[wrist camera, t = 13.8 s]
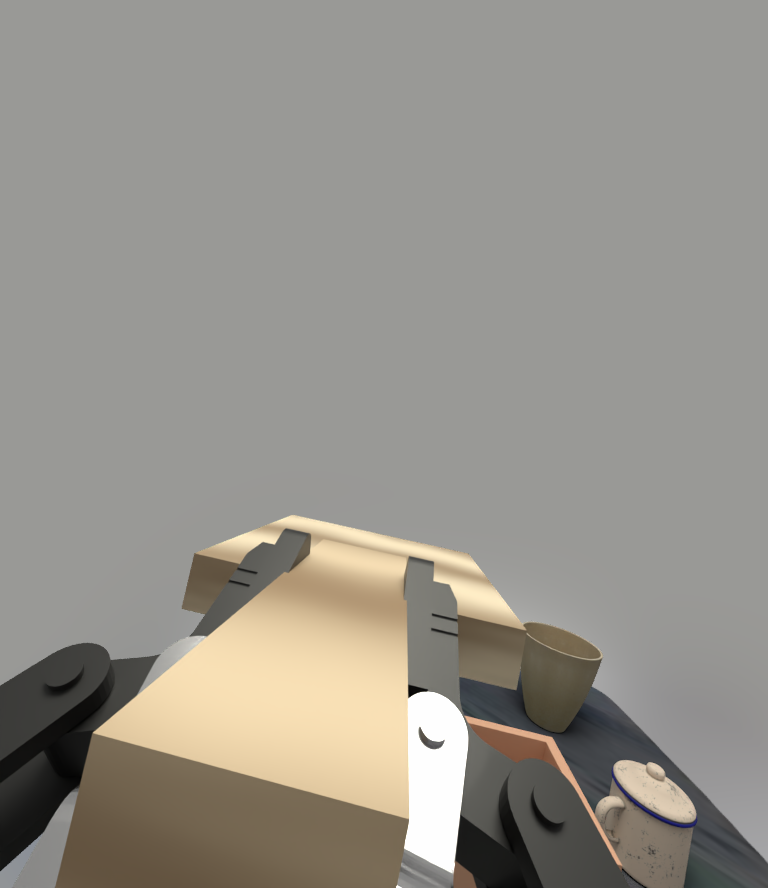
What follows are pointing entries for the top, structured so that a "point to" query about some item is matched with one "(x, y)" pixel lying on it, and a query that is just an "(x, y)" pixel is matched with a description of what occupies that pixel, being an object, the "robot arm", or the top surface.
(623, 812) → the teacup with lid
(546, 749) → the tall open box
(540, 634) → the plant pot
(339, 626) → the tan t-shaped block
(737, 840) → the top surface
